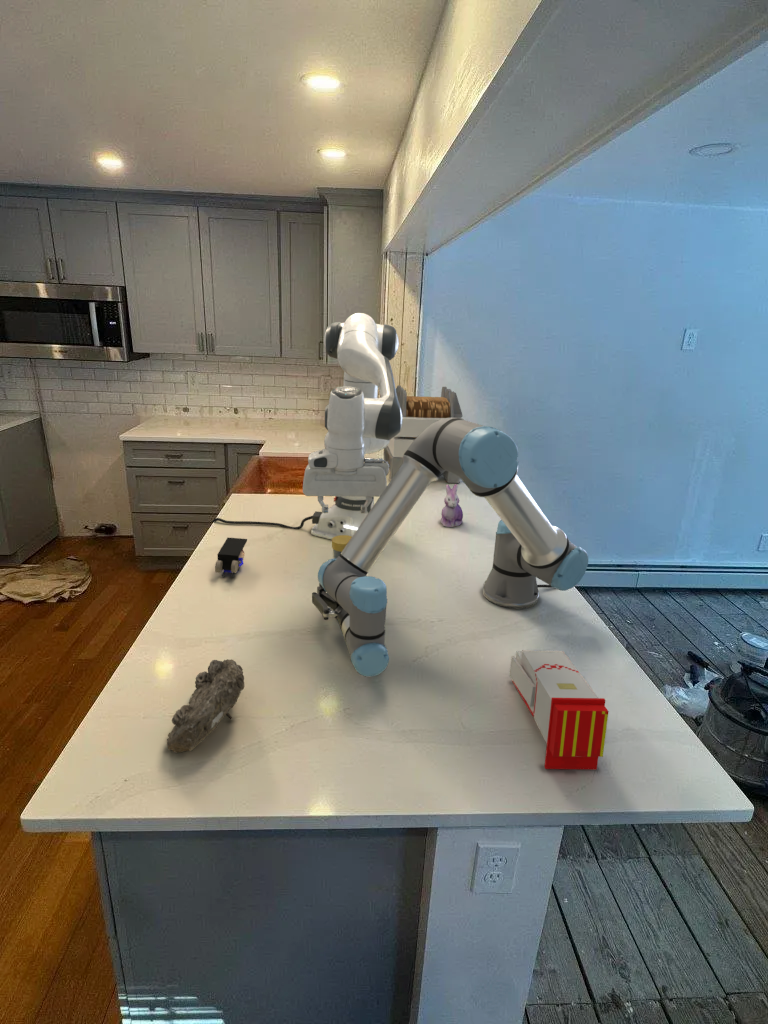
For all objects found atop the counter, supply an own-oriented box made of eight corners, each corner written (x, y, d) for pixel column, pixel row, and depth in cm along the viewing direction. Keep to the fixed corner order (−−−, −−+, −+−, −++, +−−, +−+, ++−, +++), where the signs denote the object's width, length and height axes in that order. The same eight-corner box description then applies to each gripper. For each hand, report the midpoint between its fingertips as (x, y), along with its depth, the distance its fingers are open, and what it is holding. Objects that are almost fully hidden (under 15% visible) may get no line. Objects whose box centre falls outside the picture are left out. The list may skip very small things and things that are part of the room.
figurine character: (238, 584, 162) (249, 557, 175) (236, 562, 158) (247, 536, 172) (215, 584, 161) (227, 556, 175) (212, 561, 158) (225, 535, 171)
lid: (329, 543, 143) (329, 535, 143) (352, 541, 145) (352, 534, 144) (334, 552, 138) (334, 545, 137) (358, 550, 140) (358, 543, 139)
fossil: (192, 660, 117) (244, 628, 112) (224, 691, 120) (276, 661, 115) (142, 746, 98) (202, 712, 93) (182, 779, 101) (242, 748, 96)
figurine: (448, 529, 205) (451, 490, 200) (433, 520, 214) (436, 482, 209) (469, 526, 210) (473, 487, 204) (454, 517, 218) (457, 479, 213)
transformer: (382, 463, 289) (386, 382, 275) (445, 464, 293) (451, 384, 279) (390, 482, 257) (394, 392, 243) (460, 483, 261) (468, 394, 247)
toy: (559, 632, 124) (618, 706, 95) (553, 688, 127) (609, 777, 97) (504, 631, 123) (546, 705, 94) (499, 687, 126) (539, 776, 97)
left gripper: (387, 455, 138) (385, 508, 143) (302, 453, 136) (303, 508, 140) (390, 461, 132) (388, 517, 137) (302, 460, 130) (302, 517, 134)
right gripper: (308, 644, 128) (297, 597, 148) (402, 634, 133) (379, 590, 154) (308, 615, 125) (297, 571, 146) (404, 606, 131) (380, 565, 151)
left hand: (344, 512), depth 138 cm, fingers open, 8 cm apart
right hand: (339, 581), depth 150 cm, fingers open, 9 cm apart
